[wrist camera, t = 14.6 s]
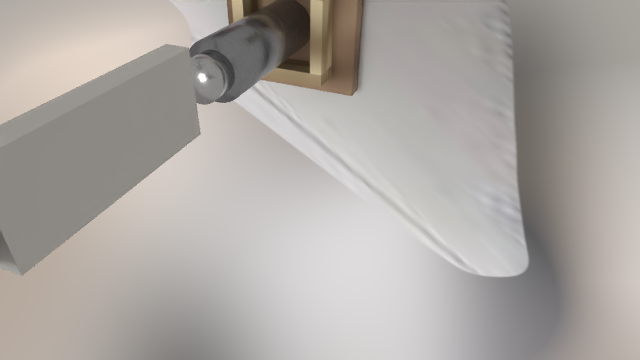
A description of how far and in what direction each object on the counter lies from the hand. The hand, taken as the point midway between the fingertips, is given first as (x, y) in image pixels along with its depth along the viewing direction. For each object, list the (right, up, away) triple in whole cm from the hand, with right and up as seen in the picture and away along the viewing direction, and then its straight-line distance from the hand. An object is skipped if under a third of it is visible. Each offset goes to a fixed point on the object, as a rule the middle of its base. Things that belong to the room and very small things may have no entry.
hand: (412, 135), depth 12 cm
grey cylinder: (-5, +12, +29) cm, 32 cm away
